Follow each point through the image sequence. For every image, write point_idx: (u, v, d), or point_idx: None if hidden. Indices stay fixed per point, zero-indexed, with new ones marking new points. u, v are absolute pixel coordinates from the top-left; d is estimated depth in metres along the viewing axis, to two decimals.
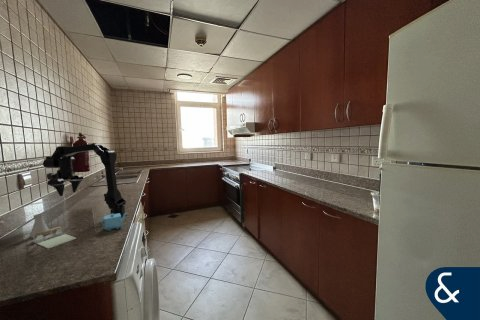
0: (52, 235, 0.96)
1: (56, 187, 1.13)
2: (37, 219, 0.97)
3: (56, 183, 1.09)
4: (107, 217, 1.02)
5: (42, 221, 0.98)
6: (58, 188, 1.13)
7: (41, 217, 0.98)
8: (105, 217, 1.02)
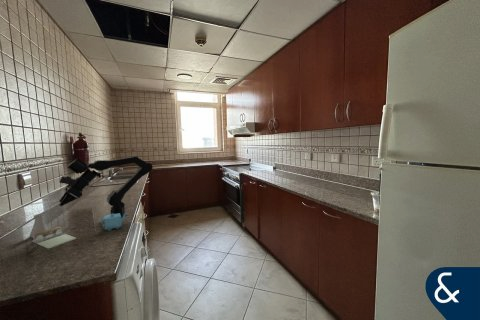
0: (52, 235, 0.96)
1: (67, 196, 1.00)
2: (37, 219, 0.97)
3: (78, 196, 1.00)
4: (107, 217, 1.02)
5: (42, 221, 0.98)
6: (68, 198, 1.00)
7: (41, 217, 0.98)
8: (105, 217, 1.02)
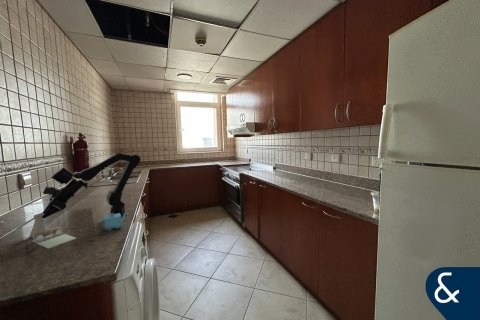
0: (52, 235, 0.96)
1: (50, 208, 0.96)
2: (37, 219, 0.97)
3: (62, 207, 0.96)
4: (107, 217, 1.02)
5: (42, 221, 0.98)
6: (51, 209, 0.96)
7: (41, 217, 0.98)
8: (105, 217, 1.02)
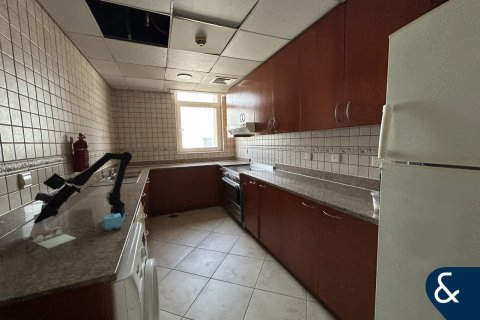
0: (52, 235, 0.96)
1: (42, 213, 0.96)
2: None
3: (54, 214, 0.95)
4: (107, 217, 1.02)
5: (42, 221, 0.98)
6: (43, 215, 0.97)
7: None
8: (105, 217, 1.02)
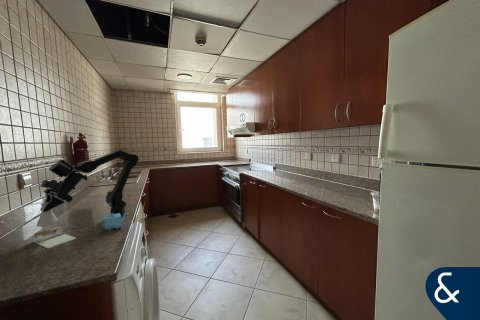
0: (52, 235, 0.96)
1: (52, 200, 0.93)
2: None
3: (69, 200, 0.93)
4: (107, 217, 1.02)
5: (50, 209, 0.94)
6: (53, 202, 0.93)
7: None
8: (105, 217, 1.02)
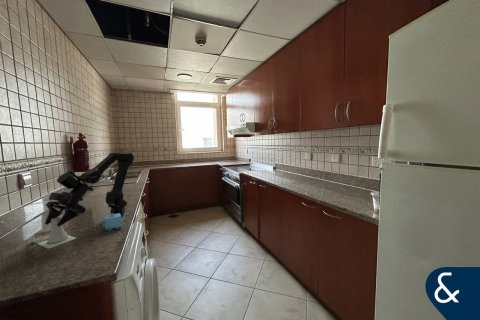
0: None
1: (67, 214, 0.90)
2: (56, 223, 0.90)
3: (83, 211, 0.92)
4: (106, 217, 1.02)
5: None
6: (67, 216, 0.90)
7: None
8: (105, 217, 1.02)
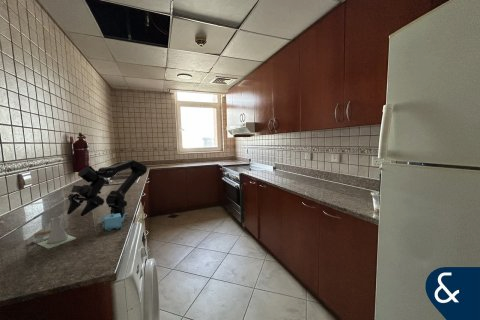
0: None
1: (89, 205, 0.98)
2: (56, 223, 0.90)
3: (102, 203, 1.01)
4: (107, 217, 1.02)
5: (60, 225, 0.91)
6: (89, 206, 0.99)
7: (59, 221, 0.91)
8: (105, 217, 1.02)
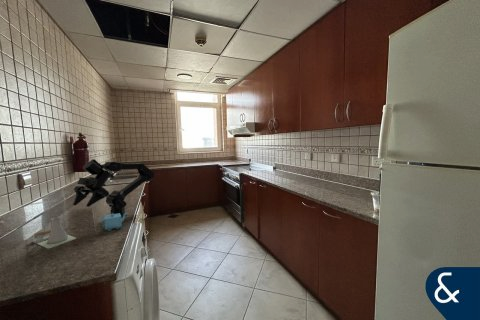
0: None
1: (95, 196, 1.02)
2: (56, 223, 0.90)
3: (107, 195, 1.05)
4: (107, 217, 1.02)
5: (60, 225, 0.91)
6: (94, 198, 1.02)
7: (59, 221, 0.91)
8: (105, 217, 1.02)
